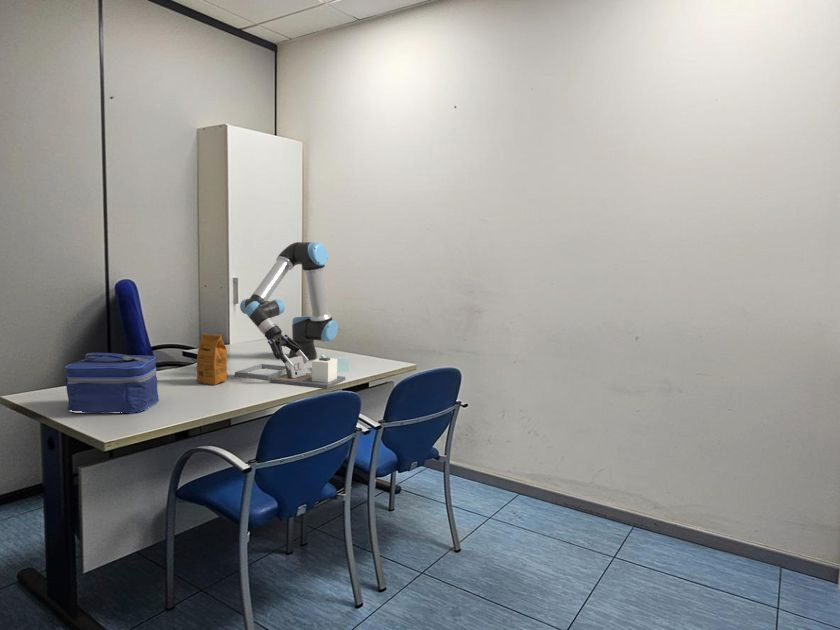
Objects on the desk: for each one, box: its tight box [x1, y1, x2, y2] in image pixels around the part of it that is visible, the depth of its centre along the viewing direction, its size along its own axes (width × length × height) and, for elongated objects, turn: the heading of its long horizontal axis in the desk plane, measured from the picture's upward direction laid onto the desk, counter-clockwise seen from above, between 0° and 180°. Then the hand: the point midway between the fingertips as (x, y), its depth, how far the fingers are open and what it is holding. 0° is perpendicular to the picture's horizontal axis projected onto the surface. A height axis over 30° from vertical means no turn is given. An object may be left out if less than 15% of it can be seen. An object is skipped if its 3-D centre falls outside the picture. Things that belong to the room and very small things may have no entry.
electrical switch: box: [284, 356, 307, 379], centre depth 260 cm, size 9×5×9 cm, turn 151°
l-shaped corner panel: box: [320, 353, 350, 374], centre depth 282 cm, size 12×12×8 cm
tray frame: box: [234, 363, 289, 381], centre depth 272 cm, size 22×18×2 cm
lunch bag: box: [64, 352, 160, 414], centre depth 209 cm, size 31×21×20 cm
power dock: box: [270, 357, 346, 389], centre depth 257 cm, size 18×28×11 cm, turn 72°
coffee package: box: [196, 332, 228, 386], centre depth 250 cm, size 10×12×22 cm
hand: (299, 364), depth 259 cm, fingers open, 13 cm apart
